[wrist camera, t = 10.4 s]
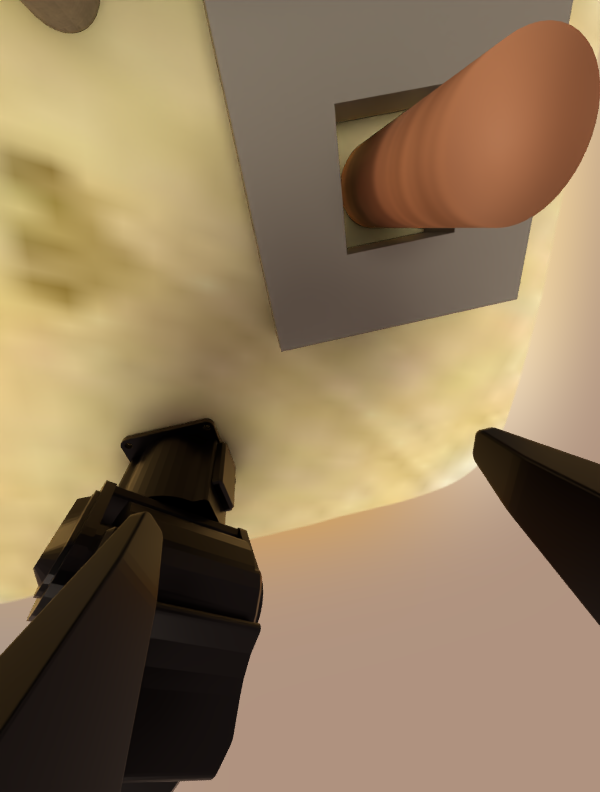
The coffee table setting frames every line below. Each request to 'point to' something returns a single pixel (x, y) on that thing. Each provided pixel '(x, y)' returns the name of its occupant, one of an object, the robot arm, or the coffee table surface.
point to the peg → (483, 139)
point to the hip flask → (64, 13)
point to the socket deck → (319, 160)
